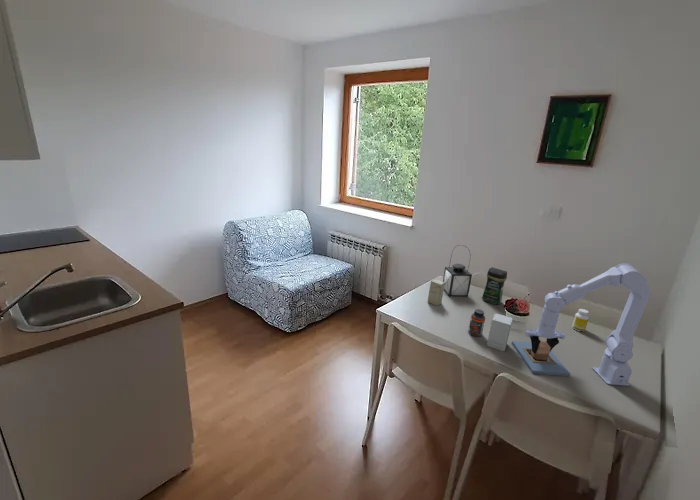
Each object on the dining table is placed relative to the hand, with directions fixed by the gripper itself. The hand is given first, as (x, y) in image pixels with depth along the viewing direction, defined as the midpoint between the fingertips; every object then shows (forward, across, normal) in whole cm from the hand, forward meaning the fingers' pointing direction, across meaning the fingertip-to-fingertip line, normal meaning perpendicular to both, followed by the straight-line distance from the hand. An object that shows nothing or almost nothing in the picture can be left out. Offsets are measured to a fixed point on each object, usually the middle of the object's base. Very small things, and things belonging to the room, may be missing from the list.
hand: (540, 352), depth 143 cm
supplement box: (+3, +14, -8) cm, 16 cm away
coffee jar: (+3, +2, -51) cm, 51 cm away
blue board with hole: (+3, 0, 0) cm, 3 cm away
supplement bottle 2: (+3, -31, -27) cm, 41 cm away
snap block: (+2, 0, 0) cm, 2 cm away
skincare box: (+3, +34, -44) cm, 56 cm away
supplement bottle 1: (+3, +21, -16) cm, 27 cm away
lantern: (+3, +20, -59) cm, 62 cm away
